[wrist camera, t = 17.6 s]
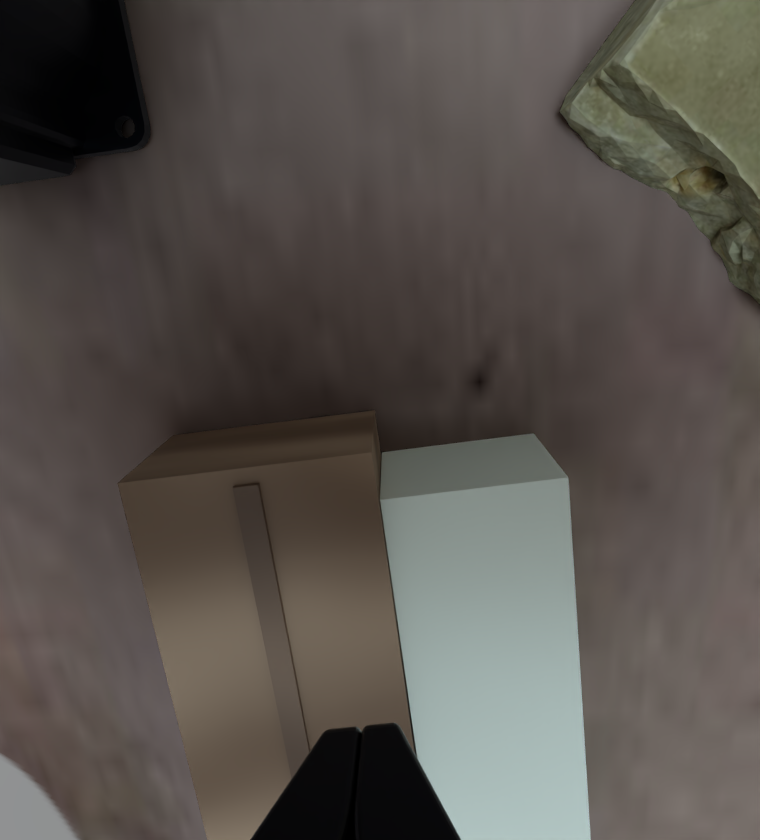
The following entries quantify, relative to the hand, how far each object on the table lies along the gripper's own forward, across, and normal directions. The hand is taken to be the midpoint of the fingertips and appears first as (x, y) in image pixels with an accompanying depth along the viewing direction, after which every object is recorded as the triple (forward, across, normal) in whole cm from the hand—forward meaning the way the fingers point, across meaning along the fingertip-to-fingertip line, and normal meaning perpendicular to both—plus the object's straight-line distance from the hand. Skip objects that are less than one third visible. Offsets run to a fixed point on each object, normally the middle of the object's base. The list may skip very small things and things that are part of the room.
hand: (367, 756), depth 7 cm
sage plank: (+12, -2, +7) cm, 14 cm away
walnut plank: (+12, +3, +7) cm, 14 cm away
